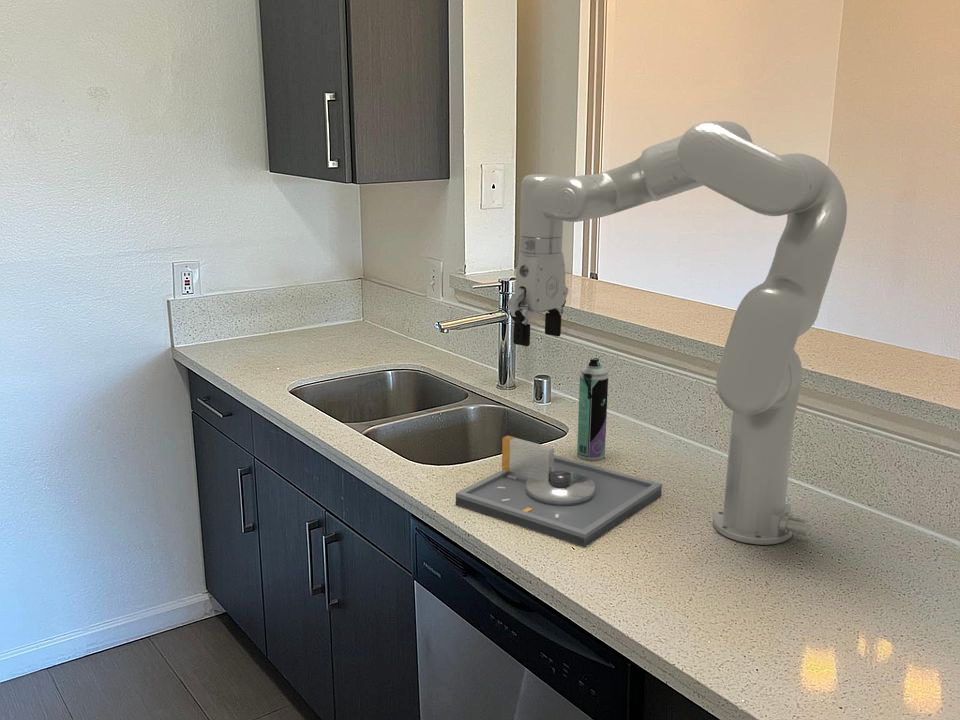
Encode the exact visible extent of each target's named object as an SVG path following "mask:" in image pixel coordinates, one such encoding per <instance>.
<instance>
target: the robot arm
mask: <svg viewBox="0 0 960 720" xmlns="http://www.w3.org/2000/svg"><path fill="white" fill-rule="evenodd" d="M520 183H521V185H520V210H519V212H520V213H519V215H520V216H519V218H520V219H519V248H518V251H519V252H518V253H519V255H518V259H517V265H516V272H515V280H514V281H515V282H514V293H513V295H512V296H511V297H510V298H509V299H508V300H507V303H506V304H507V307H508V310H509V311H508V312H509V316H510V317H511V322H512V323H513V339H512V340H513V344H514V345H519V346H523V347H529V346H530V345H531V344H530V343H531V323H529V321H530V319H531V317H532V315H533V313H537V314H539V313H544V312H545V320H544V334H545V335H548V336H551V337H552V336H554V337H560V336H561V334H562V332H561V331H562V315H563V314H564V307H565V305H566V303H567V296H568V293H569V287H567V286H566V265H565V259H564V257H565V256H564V253H563V231H564V222H568V223H569V222H570V223H577V222H578V223H579V222H584V221H588V220H594V219H600V218H603V217H607V216H611V215H613V214H617V213H621V212H624V211H627V210H629V209H632V208H636V207H639V206H642V205H644V204H647V203H651V202H658V201H660V200H661V201H662V200H663V199H667V198H670V197H673V196H676V195H678V194H679V195H680V194H681V193H684V192H687V191H691V190H694V189H697V188H700V187H703V186H705V187H706V188H707V189H709V190H712V191H713V192H715V193H717V194H719V195H721V196H723V197H725V198H727V199H729V200H731V201H732V202H735V203H737V204H739V205H740V206H743V207H744V208H746V209H749V210H750V211H753V212H755V213H757V214H760V215H763V216H768V217H782V216H786V215H787V217H786V224H785V227H784V229H783V231H782V234H781V236H780V238H779V239H778V243H777V245H776V247H775V252H774V256H773V259H772V262H771V265H770V269H769V270H768V274H767V275H766V278H765V279H764V281H763V283H760V284H758V285H756V286H755V287H753V288H752V289H750V290H749V291H748V292H747V293H746V294H745V295H744V297H743V298H742V299H741V301H740V303H739V305H738V307H737V308H736V311H735V314H734V316H733V320H732V323H731V326H730V328H729V332H728V335H727V338H726V342H725V345H724V349H723V352H722V354H721V358H720V361H719V364H718V368H717V372H716V380H715V381H716V382H715V383H716V391H717V394H718V396H719V399H720V400H721V402H722V403H723V404H724V406H725V407H726V408H727V409H729V410H730V411H732V415H731V421H730V422H731V423H730V431H729V442H728V443H729V445H728V453H727V468H726V478H725V489H724V500H723V501H724V502H723V503H724V505H723V508H722V509H720V510H718V511H717V512H716V513H714V515H713V520H712V525H713V527H714V529H715V530H716V531H717V532H718V533H720V534H721V535H723V536H724V537H727V538H729V539H731V540H734V541H737V542H741V543H745V544H751V545H760V546H761V545H762V546H763V545H766V546H768V545H776V544H781V543H784V542H786V541H788V540H790V539H791V537H792V536H793V534H797V535H800V536H804V537H808V535H809V534H810V530H811V524H809V523H808V518H805V517H801V516H796V515H794V514H793V513H792V512H791V510H792V505H791V504H788V503H787V491H788V481H789V474H790V473H789V471H790V462H791V453H792V444H793V437H794V428H795V427H794V426H795V420H796V419H795V418H796V411H797V407H798V403H799V397H800V392H801V387H802V381H803V380H802V379H803V366H802V362H801V358H800V357H799V354H798V353H797V351H796V350H795V347H796V345H797V341H798V338H800V337H801V336H802V335H804V334H805V333H807V332H808V331H809V330H810V329H811V328H812V327H813V326H814V324H815V322H816V320H817V318H818V315H819V312H820V309H821V304H822V302H823V299H824V295H825V293H826V289H827V287H828V283H829V281H830V278H831V274H832V273H833V267H834V264H835V261H836V258H837V254H838V252H839V249H840V245H841V243H842V239H843V235H844V233H845V228H846V224H847V217H848V216H847V215H848V205H847V199H846V193H845V190H844V188H843V186H842V183H841V182H840V180H839V178H838V176H837V175H836V174H835V172H833V170H832V169H831V168H830V167H828V165H827V164H826V163H824V162H823V161H821V159H820V160H819V159H818V158H816V157H814V156H811V155H809V154H805V153H786V154H778V153H776V152H773V151H771V150H769V149H767V148H764V147H762V146H760V145H758V144H756V143H754V142H753V139H752V136H751V134H750V133H749V132H748V130H747V129H746V128H745V127H744V126H742V125H741V124H739V123H737V122H734V121H731V120H729V121H728V120H721V121H719V120H709V121H704V122H698V123H697V124H694V125H693V126H691V127H689V129H687V130H686V131H685V132H684V134H682V135H680V136H677V137H674V138H671V139H668V140H665V141H663V142H659V143H656V144H654V145H651V146H649V147H647V148H645V149H644V150H642V152H641V155H640V156H639V157H638V158H636V159H635V160H632V161H631V162H630V161H629V162H627V163H626V164H623V165H621V166H617V167H615V168H612V169H608V170H606V171H603V172H599V173H596V174H586V175H579V176H578V175H577V176H576V175H575V176H567V177H561V176H559V175H556V174H547V173H546V174H545V173H544V174H543V173H542V174H541V173H540V174H537V173H535V174H534V173H532V174H528V175H525V176H524V177H523V178H522V180H521V182H520ZM523 313H524V314H523Z"/></svg>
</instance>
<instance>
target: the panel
mask: <svg viewBox="0 0 960 720" xmlns="http://www.w3.org/2000/svg"><path fill="white" fill-rule="evenodd" d="M554 471H566V472H572V473H577V474H580V475H583V476H586V477H588V478H589V479H591V480H592V481H593V482H594V484H595V495H594V497H593V498H592V499H591V500H589V501H587V502H585V503H582V504H577V505H569V506H558V505H550V504H545V503H541V502H538V501H536V500H534V499H532V498H530V497H529V496H528V495H527V493H526V482H527V480H528V479H529V478H530V477H527V476H523V475H520V474H517V473H513V472H510V471H509V472H508V471H505V470H502V469H501V470H500V471H498V472H496V473H494V474H491V475H489V476H488V477H486V478H483V479H482V480H479V481H478V482H475V483H474V484H471V485H469V486H467V487H465V488H463V489H461V490H460V491H457V492H455V505H456V506H458V505H459V506H458V507H461V506H462V508H464V507H465V509H467V508H468V510H470V509H471V511H473V510H474V512H476V513H479V512H480V514H482V513H483V515H485V514H486V516H489V517H491V516H492V517H491V518H494V519H496V520H497V519H498V520H500V521H504V522H507V523H509V524H512V525H517V526H519V527H522V528H525V529H529V530H531V531H534V532H537V533H540V534H543V535H546V536H549V537H552V538H555V539H559V540H562V541H564V542H567V543H570V544H573V545H577V546H579V547H582V548H586V547H587V546H589V545H590V544H592V543H593V542H595V541H596V540H597V539H600V538H601V537H602V536H604V535H605V534H607V532H610V531H611V530H612V529H614V528H615V527H617V526H618V525H620V524H622V523H623V522H625V520H628V519H629V518H630V517H632V516H633V515H634V514H636V513H638V512H639V511H641V510H642V509H643V508H645V507H647V506H648V505H650V504H651V503H653V502H654V501H656V500H657V499H658V498H660V497H661V496H662V493H663V492H662V489H663V484H662V483H660V482H656V481H653V480H649V479H645V478H642V477H637V476H635V475H630V474H627V473H624V472H623V473H622V472H619V471H616V470H615V471H614V470H611V469H607V468H603V467H601V466H597V465H593V464H589V463H585V462H581V461H578V460H574V459H570V458H567V457H562V456H561V455H560V456H559V455H555V454H554Z"/></svg>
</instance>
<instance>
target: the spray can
mask: <svg viewBox="0 0 960 720" xmlns="http://www.w3.org/2000/svg"><path fill="white" fill-rule="evenodd" d="M578 388H579V389H578V390H579V393H578V395H579V396H578V418H577V419H578V420H577V422H578V423H577V424H578V425H577V446H576V448H577V449H576V451H577V452H576V457H578V459H581V460H584V461H586V462H587V461H588V462H596V461H597V462H598V461H601V460H603V459H605V456H606V440H607V435H606V434H607V414H608V395H609V394H608V393H609V392H608V391H609V370H608V369H605V368H604V367H603V365H602V364H601V362H600V359H599V358H597V357H595V358H592V359H590V360H589V362H588V364H587V365H586V366H585V367H583V368H581V369H580V373H579V387H578Z"/></svg>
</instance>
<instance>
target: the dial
mask: <svg viewBox="0 0 960 720" xmlns="http://www.w3.org/2000/svg"><path fill="white" fill-rule="evenodd" d="M501 441H502V443H501V444H502V445H501V447H502V448H501V449H502V450H501V471H502V470H505V471H508V472H509V471H510V472H513V473H517V474H520V475H523V476H527V477H530V478H529V479H528V480H527V482H526V493H527V495H528V496H529V497H530V498H532V499H534V500H536V501H538V502H541V503H545V504H550V505H558V506H569V505H577V504H582V503H585V502H587V501H589V500H591V499H592V498H593V497H594V495H595V484H594V482H593V481H592V480H591V479H589V478H588V477H586V476H583V475H580V474H577V473H572V472H566V471H554V455H555V447H551V446H547V445H544V444H540V443H536V442H532V441H529V440H525V439H521V438H517V437H515V436H512V435H505V436H504V437H502V439H501Z"/></svg>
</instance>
